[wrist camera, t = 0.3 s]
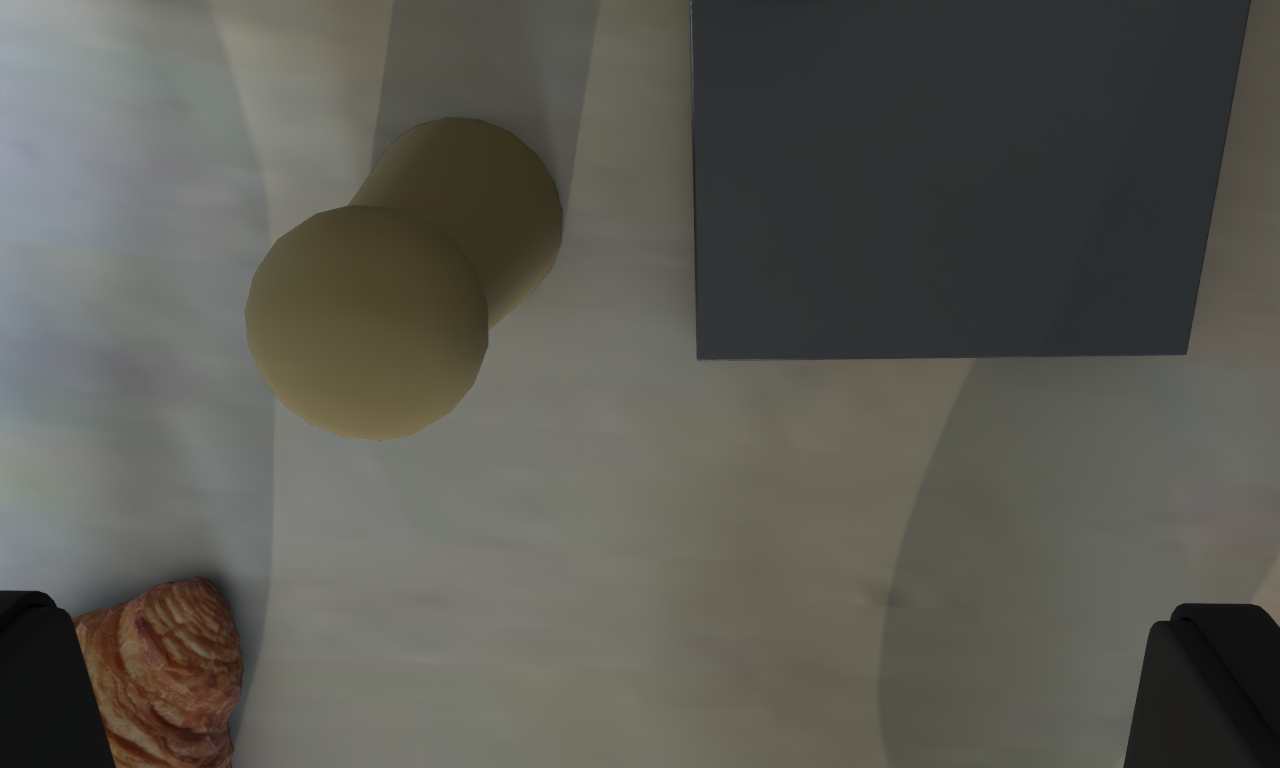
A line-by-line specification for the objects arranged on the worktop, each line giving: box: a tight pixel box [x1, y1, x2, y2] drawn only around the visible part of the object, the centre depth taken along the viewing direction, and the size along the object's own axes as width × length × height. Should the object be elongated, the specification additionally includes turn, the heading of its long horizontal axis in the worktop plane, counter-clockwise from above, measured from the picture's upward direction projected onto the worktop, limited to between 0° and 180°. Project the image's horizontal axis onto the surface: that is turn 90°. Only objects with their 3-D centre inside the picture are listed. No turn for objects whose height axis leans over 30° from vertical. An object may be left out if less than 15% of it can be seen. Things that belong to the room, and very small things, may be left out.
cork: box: [245, 118, 562, 441], centre depth 26 cm, size 6×6×11 cm
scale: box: [690, 0, 1251, 361], centre depth 27 cm, size 16×14×4 cm
